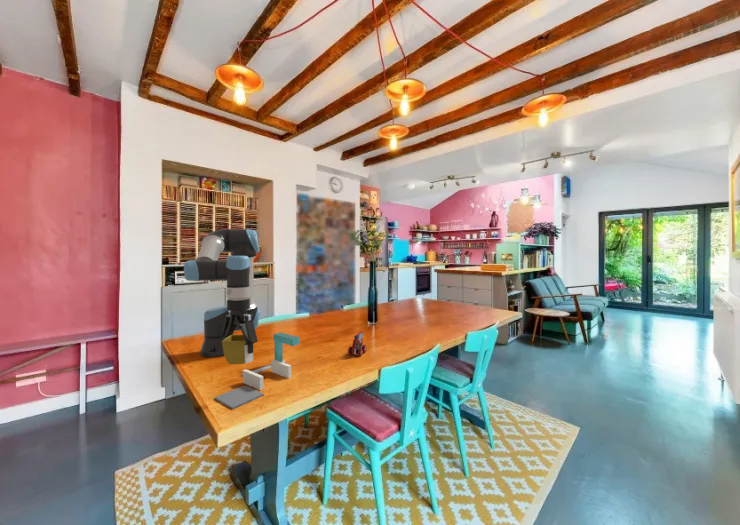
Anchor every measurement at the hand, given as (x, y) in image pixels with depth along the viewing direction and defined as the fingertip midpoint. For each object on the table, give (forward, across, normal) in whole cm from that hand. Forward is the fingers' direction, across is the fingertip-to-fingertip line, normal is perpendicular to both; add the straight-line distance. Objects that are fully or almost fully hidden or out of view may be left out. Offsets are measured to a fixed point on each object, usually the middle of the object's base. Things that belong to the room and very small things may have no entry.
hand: (239, 358), depth 108 cm
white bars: (+14, -8, +20) cm, 26 cm away
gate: (+13, -9, +29) cm, 33 cm away
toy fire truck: (+15, +6, +62) cm, 64 cm away
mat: (+14, 0, 0) cm, 14 cm away
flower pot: (+2, 0, 0) cm, 2 cm away
